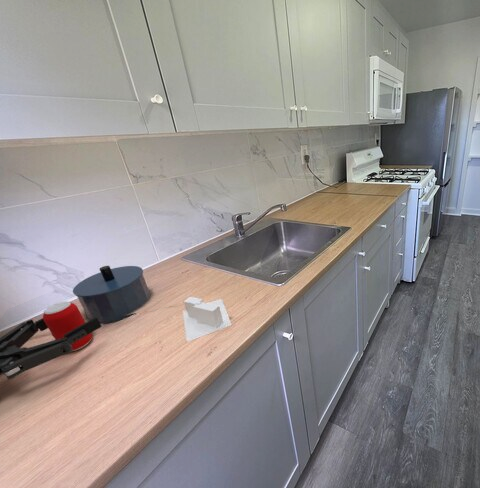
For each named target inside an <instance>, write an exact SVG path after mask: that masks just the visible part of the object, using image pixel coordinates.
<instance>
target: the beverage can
mask: <svg viewBox="0 0 480 488" xmlns="http://www.w3.org/2000/svg"><path fill="white" fill-rule="evenodd" d="M42 318H43V320H44V322H45V323H46V325H47V327H48V328H47V329H48V330H49V332H50V333H51V335H52V337H53V338H54V340H57V339H60V338H63V337H64V334H66V333H68V332H70V331H72V330H73V329H75V328H77V327H79V326H81V325H82V324H84V323H86V322H87V321H85V319H84V317H83V315H82V313H81V311H80V309H79V307H78V305H76V304H75V303H73V302H71V301H61V302H57V303H53V304H52V305H50V306H48V307H46V309H45V310H44V311H43V315H42ZM92 339H93V334H92V333H90V334H88V335H86V336H85V337H83V338H81V339H80V340H78V341H76V342H75V343H73V344H72V347H73V349H72V351H71V352H74V351H78V350H80V349H82V348H84V347H86V346H87V345H88V344H89V343H90V342H91V341H92Z"/></svg>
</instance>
